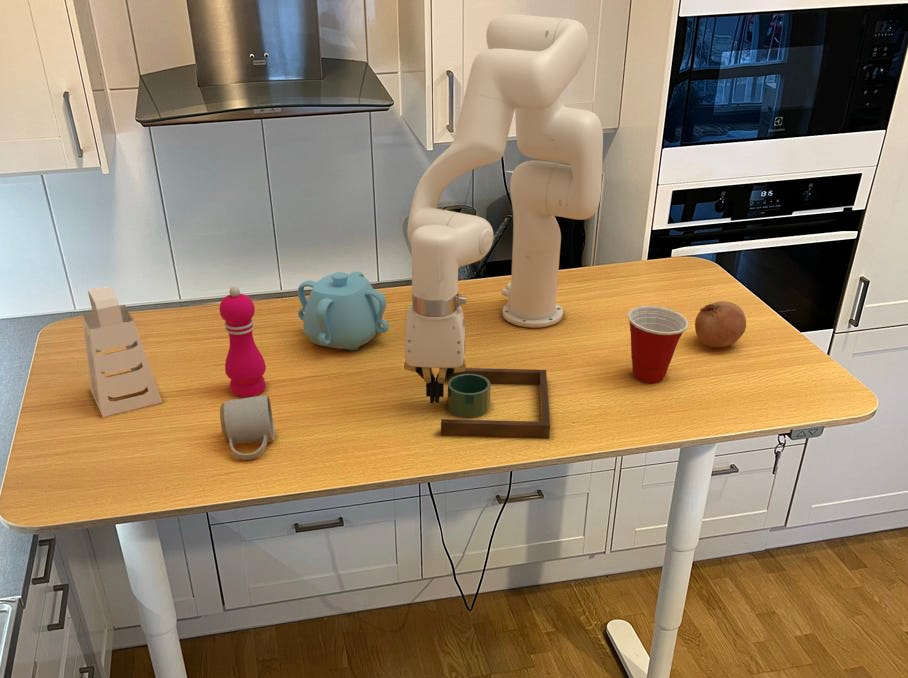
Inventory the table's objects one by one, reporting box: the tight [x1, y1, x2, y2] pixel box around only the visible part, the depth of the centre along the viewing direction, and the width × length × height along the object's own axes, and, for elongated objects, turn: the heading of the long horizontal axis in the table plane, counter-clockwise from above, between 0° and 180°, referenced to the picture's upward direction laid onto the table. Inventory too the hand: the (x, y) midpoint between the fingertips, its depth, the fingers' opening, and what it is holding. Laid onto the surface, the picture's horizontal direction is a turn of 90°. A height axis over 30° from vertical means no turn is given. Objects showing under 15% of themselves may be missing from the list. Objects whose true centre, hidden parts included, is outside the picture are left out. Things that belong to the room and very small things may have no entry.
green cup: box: [447, 374, 491, 418], centre depth 162 cm, size 7×7×5 cm
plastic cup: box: [627, 305, 689, 384], centre depth 168 cm, size 11×11×12 cm
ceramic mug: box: [219, 394, 275, 461], centre depth 152 cm, size 11×8×8 cm
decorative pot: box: [297, 270, 390, 351], centre depth 182 cm, size 16×16×14 cm
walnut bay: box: [440, 367, 551, 439], centre depth 163 cm, size 18×19×2 cm
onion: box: [694, 301, 747, 349], centre depth 180 cm, size 10×9×10 cm
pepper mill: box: [219, 286, 267, 398], centre depth 164 cm, size 7×7×20 cm
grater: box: [81, 285, 163, 418], centre depth 162 cm, size 10×10×20 cm
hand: (434, 399), depth 163 cm, fingers closed
